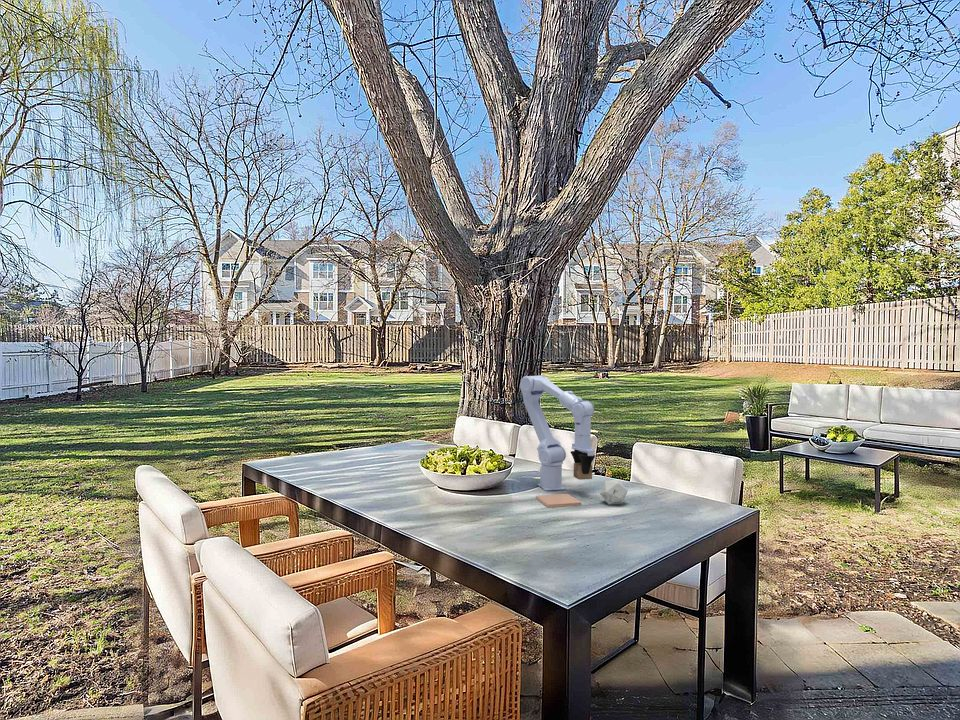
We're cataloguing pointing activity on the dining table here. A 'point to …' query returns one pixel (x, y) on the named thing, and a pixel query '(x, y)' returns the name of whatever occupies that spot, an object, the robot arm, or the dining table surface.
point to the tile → (558, 500)
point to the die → (613, 492)
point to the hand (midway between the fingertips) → (582, 472)
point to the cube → (579, 474)
